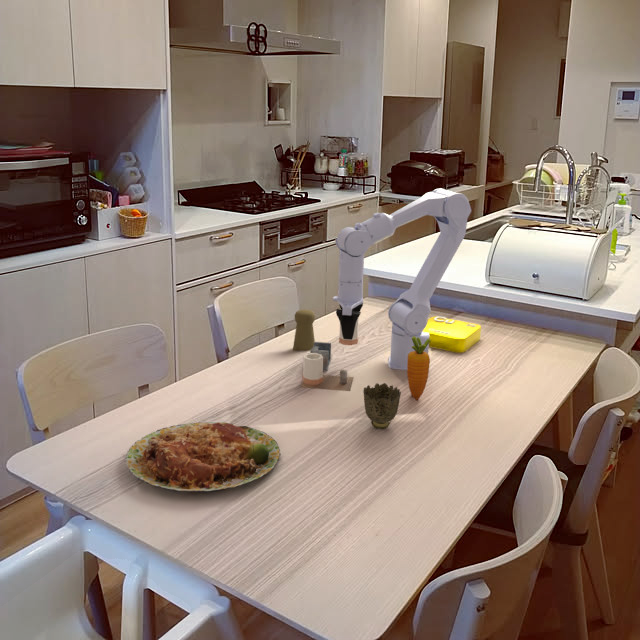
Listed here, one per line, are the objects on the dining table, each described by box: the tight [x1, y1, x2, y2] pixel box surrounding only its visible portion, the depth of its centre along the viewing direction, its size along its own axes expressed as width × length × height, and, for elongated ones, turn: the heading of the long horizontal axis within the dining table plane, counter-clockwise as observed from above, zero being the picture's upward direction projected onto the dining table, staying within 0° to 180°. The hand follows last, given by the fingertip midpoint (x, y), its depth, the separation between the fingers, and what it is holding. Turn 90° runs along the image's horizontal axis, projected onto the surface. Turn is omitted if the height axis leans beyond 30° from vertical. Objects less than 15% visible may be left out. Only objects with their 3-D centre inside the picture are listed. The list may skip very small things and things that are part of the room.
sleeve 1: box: [302, 352, 324, 385], centre depth 161 cm, size 4×4×6 cm
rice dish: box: [124, 421, 282, 493], centre depth 129 cm, size 28×28×5 cm
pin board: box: [301, 369, 354, 392], centre depth 161 cm, size 11×8×4 cm
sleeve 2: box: [338, 316, 360, 346], centre depth 168 cm, size 4×4×6 cm
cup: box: [362, 382, 402, 430], centre depth 142 cm, size 8×7×8 cm
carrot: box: [406, 336, 431, 401], centre depth 153 cm, size 5×5×15 cm
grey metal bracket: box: [309, 341, 332, 372], centre depth 170 cm, size 11×6×6 cm, turn 82°
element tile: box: [423, 315, 482, 354], centre depth 194 cm, size 15×15×5 cm
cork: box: [292, 309, 316, 352], centre depth 182 cm, size 6×6×11 cm
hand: (348, 335), depth 168 cm, fingers closed on sleeve 2, 4 cm apart
